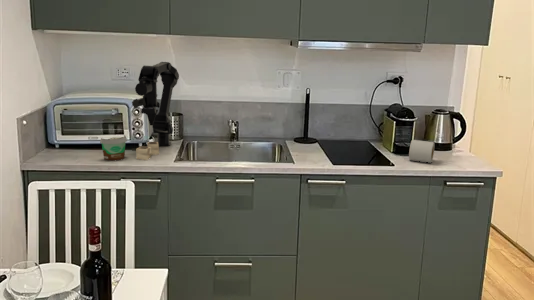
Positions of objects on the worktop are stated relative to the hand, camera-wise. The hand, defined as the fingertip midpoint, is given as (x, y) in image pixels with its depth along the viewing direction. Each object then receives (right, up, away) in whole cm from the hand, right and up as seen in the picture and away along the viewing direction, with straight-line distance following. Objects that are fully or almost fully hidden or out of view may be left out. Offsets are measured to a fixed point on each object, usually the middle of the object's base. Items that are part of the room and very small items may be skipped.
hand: (151, 125), depth 249 cm
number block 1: (-1, -16, -8) cm, 18 cm away
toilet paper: (+129, -17, +2) cm, 130 cm away
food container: (-13, -16, -11) cm, 24 cm away
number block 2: (+1, -13, +1) cm, 13 cm away
